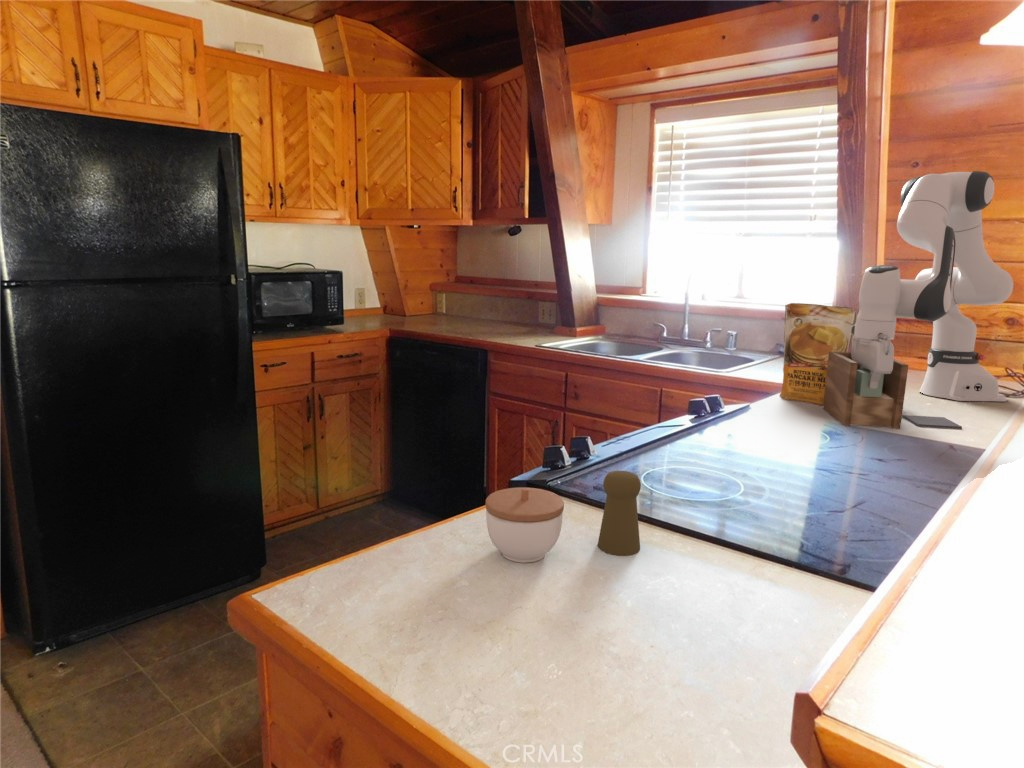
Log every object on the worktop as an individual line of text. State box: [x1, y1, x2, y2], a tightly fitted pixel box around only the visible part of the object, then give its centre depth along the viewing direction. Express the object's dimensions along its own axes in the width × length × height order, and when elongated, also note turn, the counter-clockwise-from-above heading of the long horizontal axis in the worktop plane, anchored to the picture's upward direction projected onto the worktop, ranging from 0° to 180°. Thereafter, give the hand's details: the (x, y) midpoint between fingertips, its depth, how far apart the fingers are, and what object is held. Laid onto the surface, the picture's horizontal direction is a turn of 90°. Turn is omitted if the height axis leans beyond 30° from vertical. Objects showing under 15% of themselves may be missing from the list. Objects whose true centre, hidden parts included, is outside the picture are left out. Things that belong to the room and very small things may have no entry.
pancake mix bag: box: [779, 302, 857, 406], centre depth 195 cm, size 7×19×28 cm, turn 45°
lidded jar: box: [485, 486, 565, 564], centre depth 93 cm, size 11×11×9 cm
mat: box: [902, 414, 963, 430], centre depth 174 cm, size 10×10×1 cm
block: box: [854, 370, 884, 397], centre depth 172 cm, size 5×5×6 cm
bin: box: [822, 351, 909, 430], centre depth 176 cm, size 13×20×16 cm, turn 170°
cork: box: [597, 470, 642, 557], centre depth 96 cm, size 6×6×11 cm
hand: (868, 385), depth 172 cm, fingers closed on block, 5 cm apart
